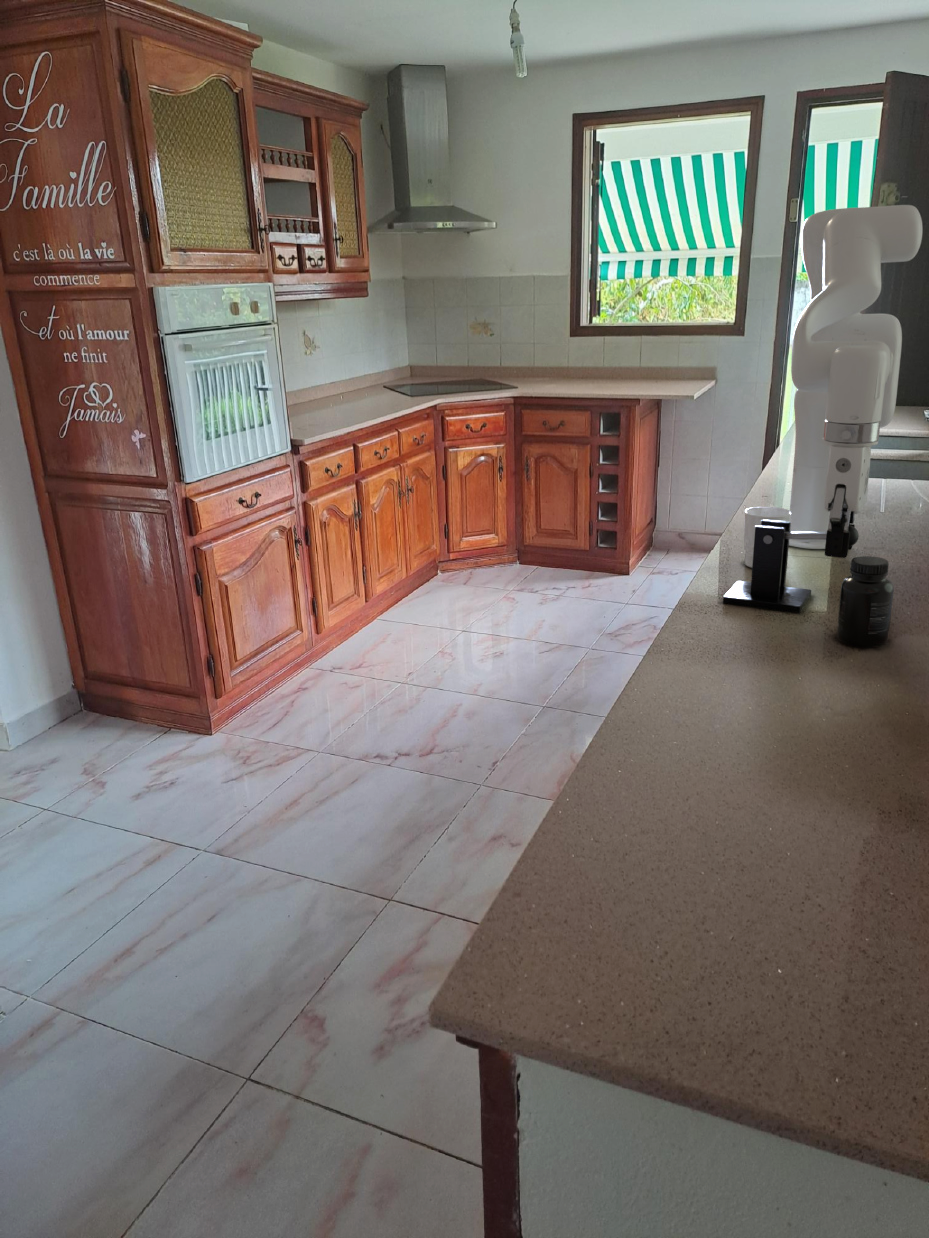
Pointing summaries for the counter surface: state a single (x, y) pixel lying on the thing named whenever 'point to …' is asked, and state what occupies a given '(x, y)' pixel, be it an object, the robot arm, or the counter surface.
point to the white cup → (754, 518)
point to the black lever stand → (769, 574)
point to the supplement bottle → (865, 603)
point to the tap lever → (820, 535)
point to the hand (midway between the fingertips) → (838, 551)
